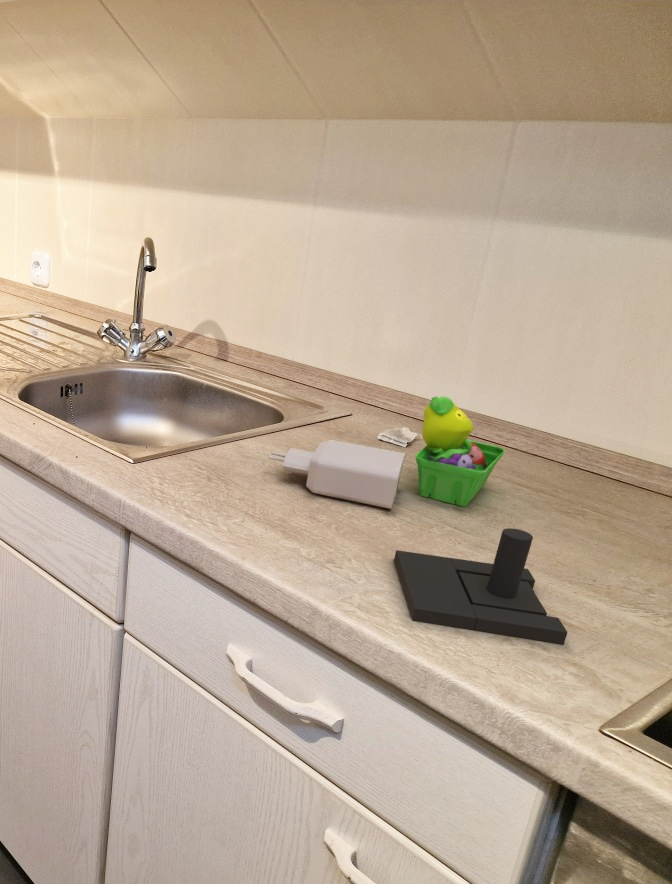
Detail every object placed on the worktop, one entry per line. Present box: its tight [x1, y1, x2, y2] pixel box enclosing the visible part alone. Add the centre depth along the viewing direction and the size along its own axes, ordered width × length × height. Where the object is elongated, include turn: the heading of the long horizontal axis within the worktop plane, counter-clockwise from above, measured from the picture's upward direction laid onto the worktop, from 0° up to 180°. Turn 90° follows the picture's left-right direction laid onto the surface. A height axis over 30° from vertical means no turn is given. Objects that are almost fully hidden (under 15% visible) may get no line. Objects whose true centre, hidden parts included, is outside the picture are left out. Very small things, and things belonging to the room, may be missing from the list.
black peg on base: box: [458, 527, 548, 616], centre depth 76 cm, size 6×6×7 cm
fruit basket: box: [415, 396, 506, 508], centre depth 102 cm, size 11×9×11 cm
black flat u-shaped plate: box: [393, 549, 569, 645], centre depth 78 cm, size 12×12×1 cm
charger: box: [267, 439, 406, 510], centre depth 102 cm, size 5×9×15 cm
